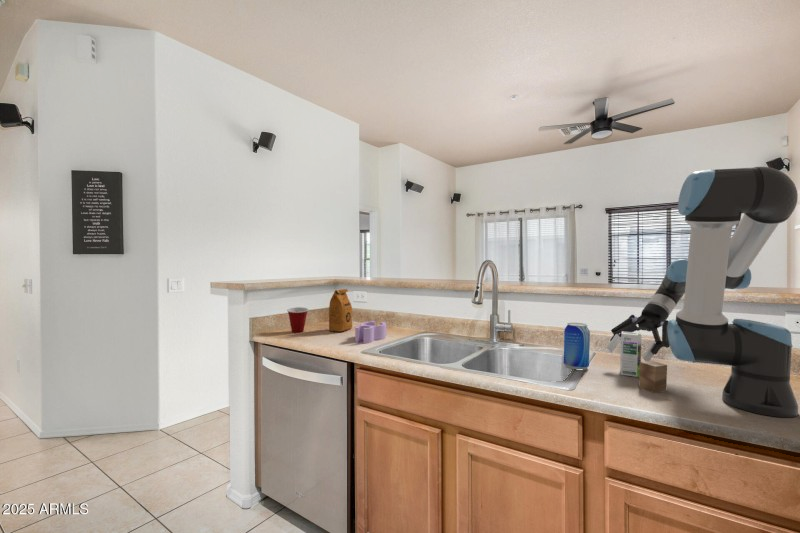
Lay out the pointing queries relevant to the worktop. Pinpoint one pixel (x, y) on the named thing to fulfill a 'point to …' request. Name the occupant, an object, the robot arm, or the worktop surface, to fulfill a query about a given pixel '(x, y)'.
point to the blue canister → (576, 346)
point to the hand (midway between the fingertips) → (626, 354)
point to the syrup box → (630, 354)
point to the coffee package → (340, 312)
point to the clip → (370, 332)
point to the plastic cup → (297, 318)
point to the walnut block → (653, 376)
